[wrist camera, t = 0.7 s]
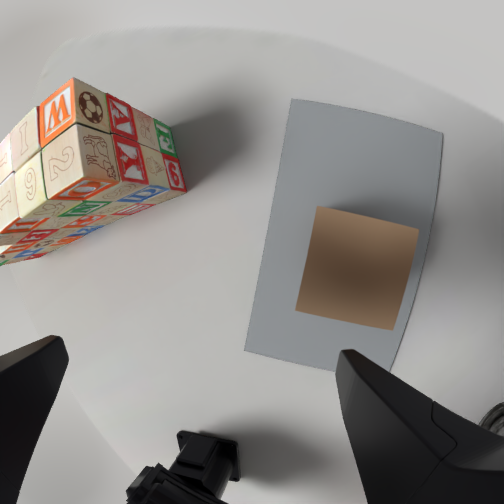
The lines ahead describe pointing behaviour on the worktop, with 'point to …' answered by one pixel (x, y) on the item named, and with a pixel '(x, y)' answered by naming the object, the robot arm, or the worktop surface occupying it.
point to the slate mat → (344, 199)
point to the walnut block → (356, 268)
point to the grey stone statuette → (494, 420)
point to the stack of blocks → (80, 170)
